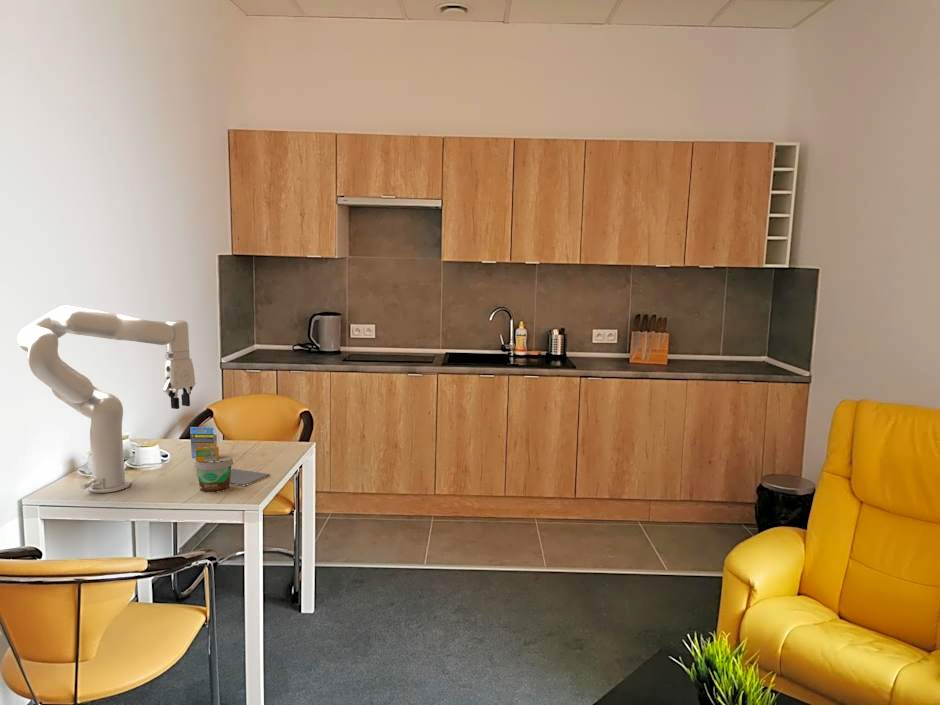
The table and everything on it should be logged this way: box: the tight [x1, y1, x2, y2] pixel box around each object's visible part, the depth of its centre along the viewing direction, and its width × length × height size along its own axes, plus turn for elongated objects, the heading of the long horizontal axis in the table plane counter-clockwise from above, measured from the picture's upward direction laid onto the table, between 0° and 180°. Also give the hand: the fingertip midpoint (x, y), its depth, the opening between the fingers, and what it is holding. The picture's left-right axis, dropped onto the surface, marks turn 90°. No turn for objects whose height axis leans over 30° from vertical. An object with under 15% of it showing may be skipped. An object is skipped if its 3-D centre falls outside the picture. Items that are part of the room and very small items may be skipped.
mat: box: [230, 468, 271, 487], centre depth 258 cm, size 13×16×1 cm
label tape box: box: [189, 426, 218, 459], centre depth 282 cm, size 9×4×12 cm, turn 89°
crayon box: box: [195, 443, 220, 477], centre depth 261 cm, size 7×3×12 cm, turn 94°
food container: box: [193, 457, 234, 493], centre depth 244 cm, size 12×6×10 cm, turn 106°
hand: (180, 406), depth 263 cm, fingers open, 4 cm apart
